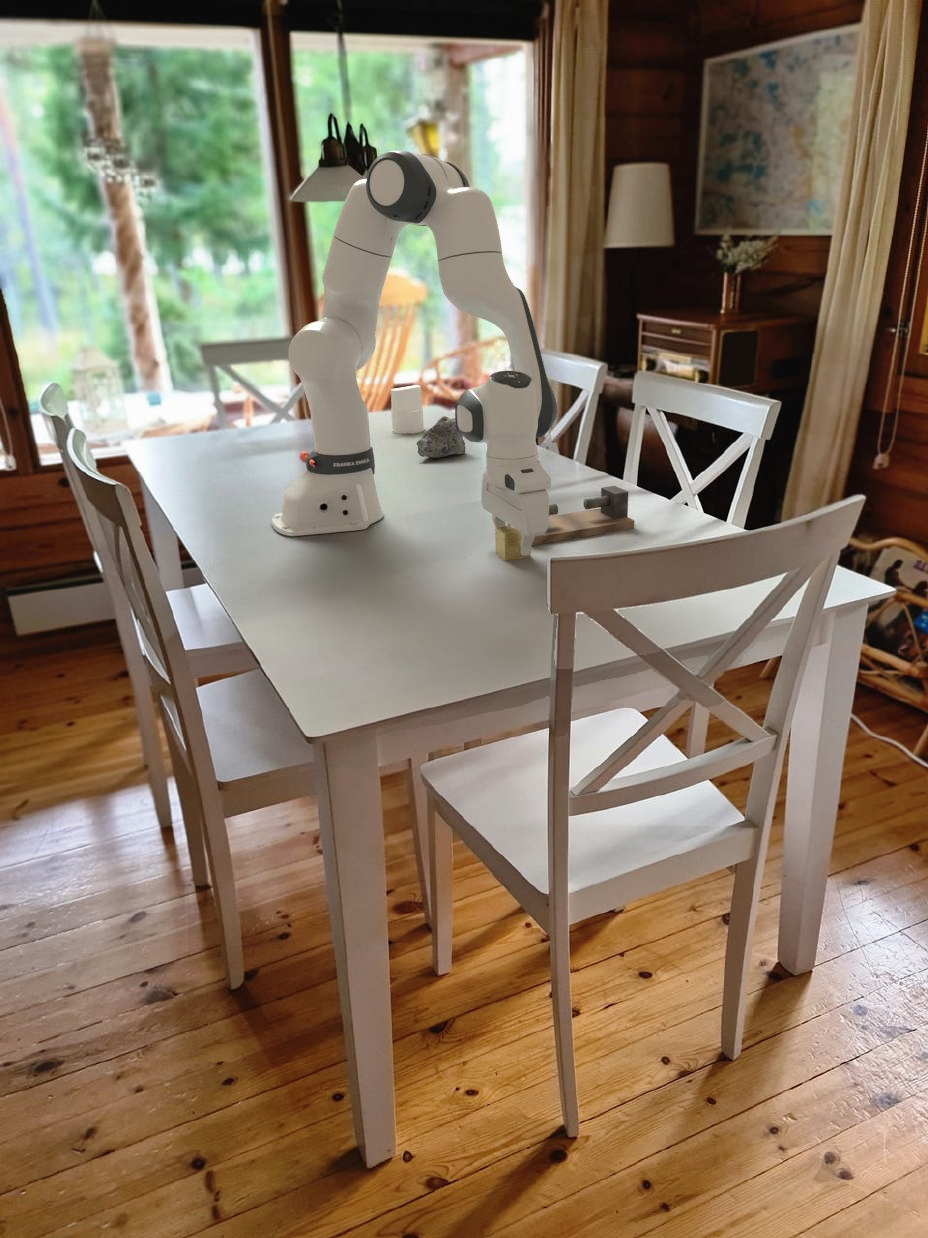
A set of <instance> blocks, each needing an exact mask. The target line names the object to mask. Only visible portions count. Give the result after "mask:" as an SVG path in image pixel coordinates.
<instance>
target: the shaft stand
mask: <svg viewBox="0 0 928 1238" xmlns="http://www.w3.org/2000/svg"><path fill="white" fill-rule="evenodd" d="M583 508H584V509H585V510H582V511H574V512H569V513H563V514H558V513H559V506H558V504H556V503H551V504H549V524H548V529H547V531H546V533H545V534H544V535H539V536H535V538H534V540H533V543H532V545H531V547H532V546H537V545H543V544H549V543H554V542H561V541H567V540H572V539H577V538H578V539H579V538H584V537H588V536H589V537H590V536H594V535H596V536H597V535H601V534H605V533H606V534H607V533H613V532H619V531H624V530H629V529H634V528H635V520H634V519H633V518H631V517H628V513H629V509H628V508H629V491H627V490H626V489H623V488H621V487H619V486H617V485H612V486H611V485H609V486H603V487H601V488H600V496H596V497H589V498H584V499H583ZM506 524H507V523H506ZM506 526H509V524H507V525H506Z"/></svg>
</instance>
